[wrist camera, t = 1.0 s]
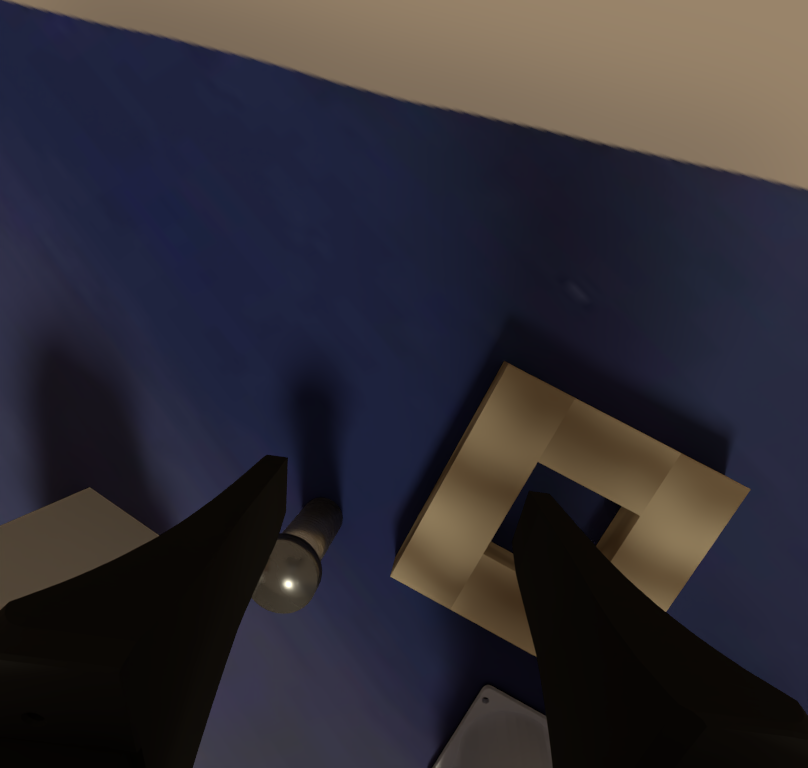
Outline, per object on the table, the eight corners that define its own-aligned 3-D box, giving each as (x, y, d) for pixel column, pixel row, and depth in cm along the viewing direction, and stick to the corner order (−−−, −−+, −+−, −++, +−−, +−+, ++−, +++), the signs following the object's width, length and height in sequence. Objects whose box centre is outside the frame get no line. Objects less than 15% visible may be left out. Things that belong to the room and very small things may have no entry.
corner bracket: (90, 487, 34) (-103, 569, 22) (210, 570, 34) (79, 698, 22) (33, 590, 36) (-173, 717, 24) (147, 670, 36) (-6, 839, 24)
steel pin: (335, 554, 33) (297, 626, 25) (285, 527, 33) (231, 589, 25) (360, 507, 32) (329, 565, 24) (309, 479, 32) (261, 528, 24)
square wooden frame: (595, 667, 31) (607, 696, 29) (395, 557, 32) (390, 576, 30) (725, 475, 29) (750, 489, 26) (504, 360, 29) (508, 363, 27)
